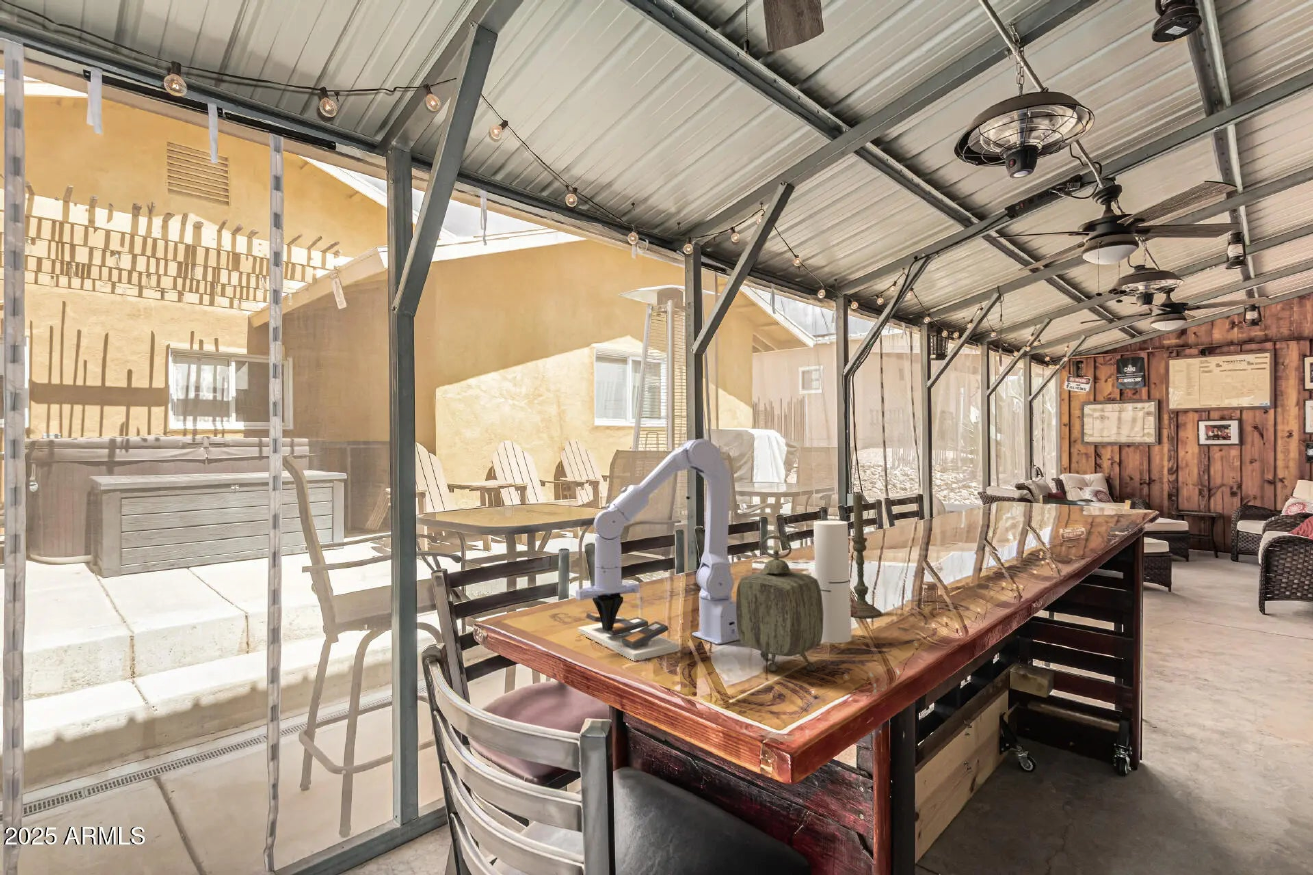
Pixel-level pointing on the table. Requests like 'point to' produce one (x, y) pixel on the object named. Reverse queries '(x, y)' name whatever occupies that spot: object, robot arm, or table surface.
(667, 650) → the switch strip
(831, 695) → the table surface
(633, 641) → the rocker near
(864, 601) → the candlestick holder
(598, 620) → the rocker far
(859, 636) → the table surface
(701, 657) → the table surface
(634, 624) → the rocker middle
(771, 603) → the tabletop clock
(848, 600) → the cylindrical container
